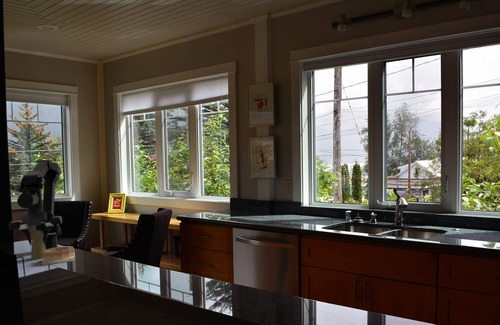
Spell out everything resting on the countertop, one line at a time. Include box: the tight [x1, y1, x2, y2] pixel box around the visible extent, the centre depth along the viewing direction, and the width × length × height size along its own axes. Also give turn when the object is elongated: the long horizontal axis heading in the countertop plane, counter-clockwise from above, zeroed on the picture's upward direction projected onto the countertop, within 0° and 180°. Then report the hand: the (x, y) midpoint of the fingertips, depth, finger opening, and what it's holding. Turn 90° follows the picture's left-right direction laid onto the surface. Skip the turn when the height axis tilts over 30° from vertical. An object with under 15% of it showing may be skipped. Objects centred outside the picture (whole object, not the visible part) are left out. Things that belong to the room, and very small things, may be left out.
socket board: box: [41, 245, 76, 266], centre depth 164 cm, size 11×11×4 cm
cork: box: [30, 229, 46, 261], centre depth 172 cm, size 6×6×11 cm
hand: (38, 244), depth 172 cm, fingers closed on cork, 5 cm apart
